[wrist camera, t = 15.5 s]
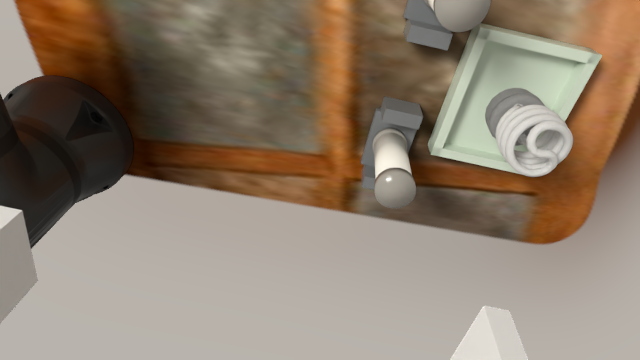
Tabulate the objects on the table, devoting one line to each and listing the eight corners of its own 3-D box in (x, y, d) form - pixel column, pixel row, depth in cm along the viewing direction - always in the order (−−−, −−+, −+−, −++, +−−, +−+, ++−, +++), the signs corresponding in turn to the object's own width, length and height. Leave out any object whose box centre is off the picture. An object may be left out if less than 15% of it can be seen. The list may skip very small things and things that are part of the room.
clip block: (357, 170, 52) (357, 186, 49) (431, -83, 37) (437, -83, 34) (397, 179, 52) (399, 195, 49) (485, -70, 38) (496, -69, 35)
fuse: (368, 153, 49) (370, 203, 41) (377, 124, 47) (381, 170, 39) (400, 160, 50) (408, 211, 41) (411, 131, 48) (421, 179, 39)
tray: (427, 144, 49) (430, 154, 47) (474, 21, 42) (480, 27, 39) (526, 165, 49) (533, 176, 47) (590, 48, 42) (602, 55, 40)
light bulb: (537, 112, 45) (589, 169, 35) (485, 134, 47) (520, 194, 37) (522, 66, 43) (573, 113, 33) (468, 91, 45) (500, 142, 34)
